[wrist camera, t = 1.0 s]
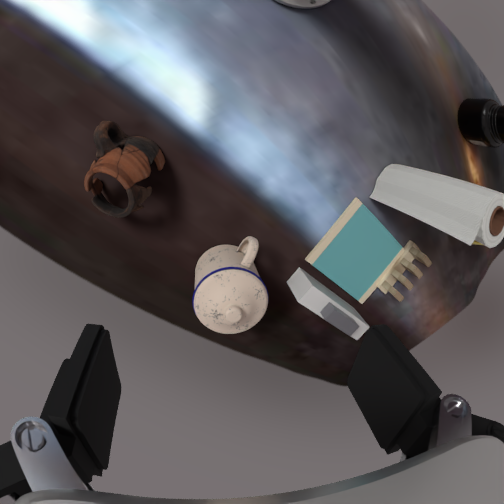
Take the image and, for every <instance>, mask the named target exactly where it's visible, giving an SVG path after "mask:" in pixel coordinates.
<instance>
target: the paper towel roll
mask: <svg viewBox="0 0 504 504" xmlns="http://www.w3.org/2000/svg"><path fill="white" fill-rule="evenodd" d="M369 198H371V199H374V200H376V201H378V202H381V203H383V204H385V205H388V206H390V207H392V208H394V209H397V210H399V211H401V212H403V213H405V214H408V215H410V216H412V217H414V218H416V219H418V220H420V221H422V222H425V223H427V224H429V225H431V226H433V227H435V228H437V229H439V230H441V231H443V232H445V233H447V234H449V235H451V236H453V237H455V238H456V239H458V240H460V241H462V242H464V243H466V244H468V245H470V246H471V245H472V243H473V242H474V240H475V241H477V242H479V243H481V244H483V245H485V246H487V247H489V248H492V247H496V246H497V245H498V244H499V243H500V242H501V240H502V239H503V237H504V194H503V193H501V192H498V191H495V190H492V189H489V188H486V187H483V186H479V185H476V184H473V183H470V182H466V181H463V180H459V179H456V178H452V177H449V176H445V175H441V174H437V173H434V172H430V171H426V170H421V169H417V168H413V167H409V166H404V165H400V164H391V165H389V166H387V167H385V169H384V170H383V171H382V173H381V174H380V176H379V177H378V178H377V181H376V185H375V189H374V191H373V193H372V195H371V196H370V197H369Z"/></svg>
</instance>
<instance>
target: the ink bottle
mask: <svg viewBox="0 0 504 504" xmlns="http://www.w3.org/2000/svg"><path fill="white" fill-rule="evenodd" d="M458 122H459V126H460V129H461V132H462V134H463V136H464V138H465V139H466V140H467V141H468V142H470V143H472V144H476V145H482V146H487V147H499V146H500V145H502V143H504V105H503V106H502V105H501V106H500V105H499V104H498V103H497V102H496V101H495V100H492V99H466V100H464V101H463V102H462V103H461V105H460V107H459V111H458Z"/></svg>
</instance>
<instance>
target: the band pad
mask: <svg viewBox="0 0 504 504" xmlns="http://www.w3.org/2000/svg"><path fill="white" fill-rule="evenodd" d="M404 251H405V249H404V248H403V247H402V246H401V245H400V244H399V243H398V242H397V240H396V239H395V238H394V237H393V236H392V235H391V234H390V233H389V231H388V230H387V229H386V228H385V227H384V226H383V225H382V224H381V223H380V222H379V220H378V219H377V218H376V217H375V216H374V215H373V214H372V213H371V212H370V211H369V210H368V209H367V208H366V207H365V206H364V205H363V204H362V202H361V201H360V200H359V199H358V198H356V197H355V199H354V200H353V201H352V202H351V204H350V205H349V206H348V207H347V209H346V210H345V211H344V212H343V213H342V215H341V216H340V217H339V218H338V220H337V221H336V222H335V223H334V225H333V226H332V227H331V228H330V229H329V231H328V232H327V233H326V234H325V235H324V237H323V238H322V239H321V240H320V241H319V243H318V244H317V245H316V246H315V247H314V249H313V250H312V251H311V252H310V253H309V255H308V256H307V257H306V258H305V260H306V261H307V262H309V263H310V264H311V265H313V266H314V267H315V268H317V269H318V270H319V271H321V272H322V273H323V274H324V275H326V276H327V277H328V278H330V279H331V280H332V281H333V282H335V283H336V284H337V285H339V286H340V287H341V288H342V289H344V290H345V291H346V292H347V293H349V294H350V295H351V296H353V297H354V298H355V299H356V300H358V301H359V302H360V303H361V304H363V303H364V302H365V300H366V299H367V298H368V297H369V296H370V295H371V294H372V292H373V291H374V290H375V289H376V288H377V286H376V285H377V284H378V283H379V282H380V281H381V279H382V278H383V277H384V276H385V275H386V273H387V272H388V271H389V270H390V269H391V267H392V266H393V265H394V264H395V262H396V261H397V260H398V259H399V257H400V256H401V255H402V254H403V252H404Z"/></svg>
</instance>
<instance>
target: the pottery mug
mask: <svg viewBox="0 0 504 504" xmlns="http://www.w3.org/2000/svg"><path fill="white" fill-rule="evenodd" d="M108 135H109V136H108ZM109 137H110V138H109ZM94 142H95V144H96V148H97V153H96V157H97V158H100V159H99V160H98V162H97V161H96V160H94V161H93V163H92V165H91V168H90V170H89V171H88V172H87V174H86V176H85V180H84V185H85V190H86V191H90V190H92V192H93V194H94V195H95V197H94V198H92V203H93V205H94V206H95V207H96V208H97V209H99V210H100V211H101V212H103V213H104V214H106V215H109V216H112V217H116V218H117V217H119V218H122V217H126V216H127V215H129V214H130V213H131V212H135V211H138V210H140V209H142V208H143V206H142V205H140V206H139V204H141V203H143V202H144V201H145V200H146V198H147V197H149V196H150V195H151V192H152V187H147V188H145V187H141V186H139V185H137V184H136V183H137V182H139V181H141V180H143V179H145V178H147V177H149V175H150V173H151V168H150V165H151V164H152V162H153V160H155V162H156V165H157V168H158V170H162V168H163V166H164V164H165V159H164V156H163V154H162V152H161V150H160V149H159V147H158V146H157V145H156V144H155V143H154V142H153V141H151V140H150V139H148V138H146V137H141V136H133V137H128V136H127V135H126V134H124V132H123V131H122V130H121V128H120V127H119V126H118V125H117V124H116V123H115V122H112V121H102V122H101V123H100V124H99V126H97V127H96V129H95V131H94ZM124 145H125V146H124ZM121 146H124V148H123V150H122V149H121V148H118V147H121ZM96 173H106V174H109V175H111V176H113V177H114V178H116V179H117V180H118V181H119V182H120V183H121V184H122V186H123V187H124V188H125V189H126V192H127V195H128V198H129V203H128V207H127V208H125V209H121V208H119V207H117V206H114V205H112V204H110V203H109V202H108V201H107V200H106V199H105V197H104V196H103V194H102V193H101V191H102V188H103V184H102V182H101V181H100V180H99V179H98V178H95V179H94V180H92V178H93V175H94V174H96Z"/></svg>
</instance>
